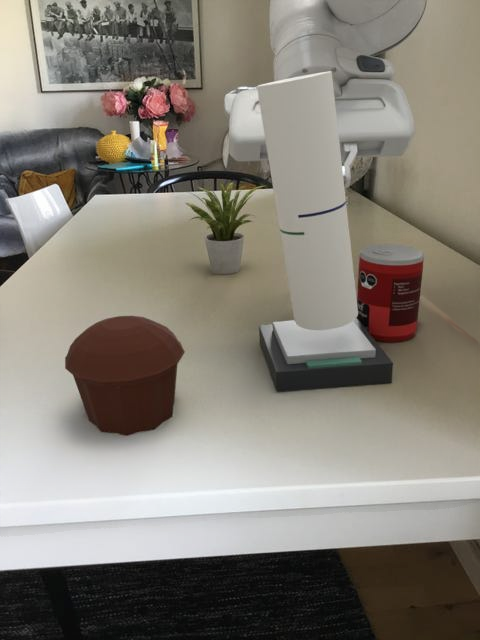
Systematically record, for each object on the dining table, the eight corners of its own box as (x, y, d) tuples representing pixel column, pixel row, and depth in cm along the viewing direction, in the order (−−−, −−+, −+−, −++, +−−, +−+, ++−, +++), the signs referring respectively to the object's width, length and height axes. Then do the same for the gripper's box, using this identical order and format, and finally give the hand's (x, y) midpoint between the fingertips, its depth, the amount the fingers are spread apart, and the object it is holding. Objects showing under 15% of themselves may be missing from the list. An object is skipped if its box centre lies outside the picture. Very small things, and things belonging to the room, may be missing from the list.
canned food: (360, 317, 81) (365, 242, 76) (419, 323, 78) (426, 246, 74) (350, 338, 74) (354, 257, 70) (413, 346, 71) (421, 262, 67)
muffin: (190, 383, 64) (185, 300, 60) (186, 439, 54) (179, 344, 50) (85, 387, 64) (73, 305, 60) (61, 445, 54) (44, 350, 50)
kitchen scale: (356, 335, 75) (357, 311, 74) (391, 382, 63) (393, 354, 62) (259, 343, 74) (258, 318, 72) (276, 392, 62) (276, 363, 60)
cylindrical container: (356, 327, 60) (328, 73, 50) (290, 332, 62) (249, 88, 52) (359, 300, 66) (334, 69, 56) (298, 305, 68) (264, 83, 58)
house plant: (251, 254, 113) (249, 170, 107) (282, 272, 101) (282, 179, 95) (182, 263, 108) (176, 176, 102) (206, 284, 96) (201, 187, 90)
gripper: (222, 66, 62) (227, 170, 57) (407, 60, 62) (430, 163, 57) (223, 108, 68) (228, 206, 62) (392, 102, 68) (411, 199, 63)
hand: (326, 185), depth 60 cm, fingers closed on cylindrical container, 2 cm apart
